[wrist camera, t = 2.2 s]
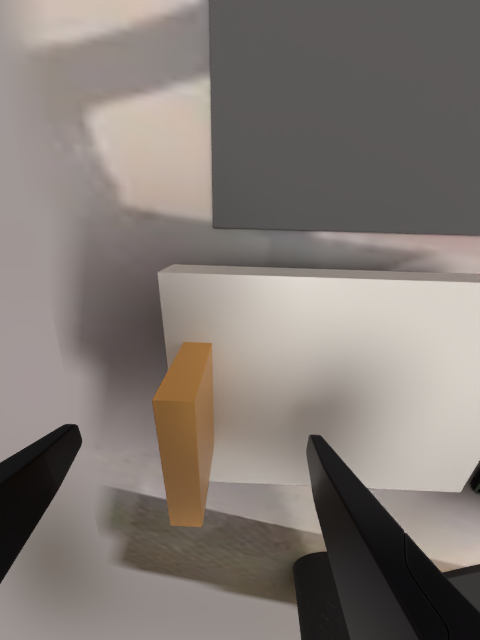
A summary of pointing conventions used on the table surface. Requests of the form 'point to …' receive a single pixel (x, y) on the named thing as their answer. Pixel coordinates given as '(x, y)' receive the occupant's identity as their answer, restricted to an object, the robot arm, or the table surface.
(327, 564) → the travel mug
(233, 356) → the lid
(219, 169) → the mat
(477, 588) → the phone
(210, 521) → the table surface
